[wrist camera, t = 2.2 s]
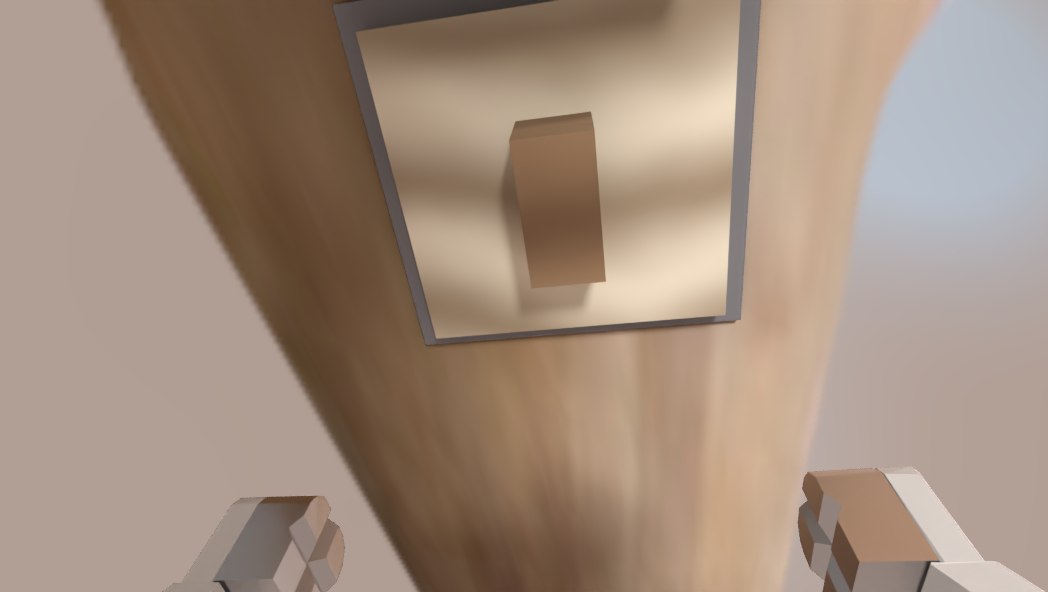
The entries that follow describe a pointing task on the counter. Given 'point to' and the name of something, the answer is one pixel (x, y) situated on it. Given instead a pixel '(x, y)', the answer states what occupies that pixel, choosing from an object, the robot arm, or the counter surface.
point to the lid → (563, 159)
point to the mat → (407, 3)
